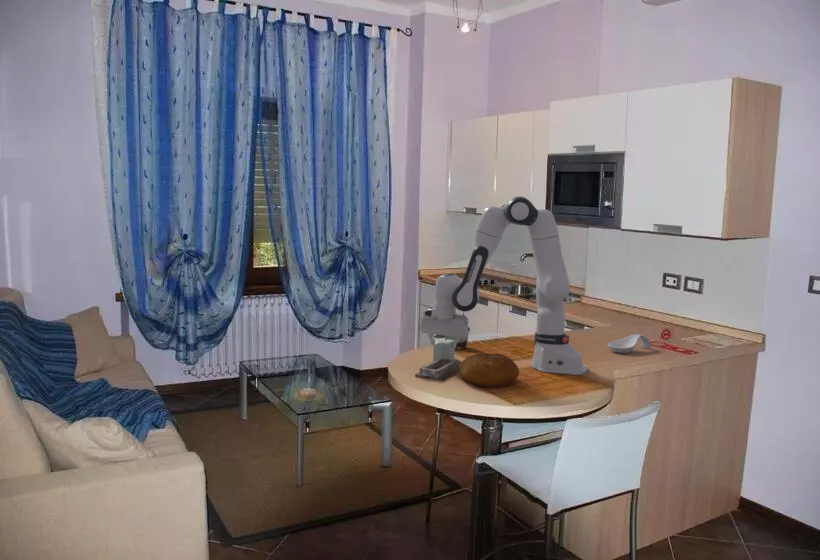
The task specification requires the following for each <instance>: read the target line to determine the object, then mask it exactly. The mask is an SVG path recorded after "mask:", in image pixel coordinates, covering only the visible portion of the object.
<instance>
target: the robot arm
mask: <svg viewBox="0 0 820 560" xmlns="http://www.w3.org/2000/svg"><path fill="white" fill-rule="evenodd" d="M511 224H512V225H519V226H526V227H527V229H528V231H529V232H528V233H529V238H530V243H531V250H532V255H533V261H534V263H535V268H536V271H537V277H536V280H535V291H536V293H535V294H536V296H535V298H536V299H535V300H536V330H535V332H534V341H533V342H534V351H533V357H532V359H531V362H530V367H531V368H533V369H536V370H538V371H539V372H541V373H551V374H561V375H562V374H563V375H564V374H565V375H573V376H574V375H575V376H580V375H584V374H586V373H587V372H588V371H589V370H588V369H589V367H588V366H587V365H583V359H582V358H583V357H582V354H581V353H580V352H579V351H578V350H577V349H575V347H574V346H572V345H571V344H570V343H569V342H570V334H566V333H565V323H566V312H565V301H564V300H565V299H566V298H567V297H568V296H569V294H570V292H571V284H570V280H569V276H568V275H569V274H568V272H567V268H566V264H565V261H564V257H563V253H562V247H561V246H562V245H561V240H560V234H559V229H558V226H557V222H556V219H555V216H554V214H553V212H552V211H550V210H549V209H545V208H544V209H543V208H541V209H537V207H536V206H534V205H533V203H532V202H531V201H530V200H529V199H528V198H527V197H525V196H521V195H518V196H517V195H516V196H513V197H511V198H510V199H509V200H507V202H505V203H504V204H503V205H502V206H500V207H498V206H494V205H493V206H492V205H491V206H488V207H486V208H485V209H484V210H483V212H482V213H481V216H480V217H479V220H478V222H477V224H476V227H475V230H474V233H473V236H472V241H471V248H470V257H469V262H468V265H467V268H466V270H465V274H464V276H463V278H461V277H459V276H458V275H457V274H456V273H452V272H451V273H444V274H441V275H439V276H438V277H437V278H436V282H435V289H434V296H435V302H434V306H433V307H431V308H427V309H425V310H423V311H422V318H421V320H420V329H419V331H420V332H421V333H423V334H428V335H427V337H428V338H429V340H430V345H432V346H434V345H436V339H434V337H433V336H434V335H436V336H437V335H438V336H444V337H445V336H450V337H454V340H455V342H454V343H452V346H451V347H452V348H455V349H457V348H456V343H457V342H458V341H459V338H465V337H467V336H468V337H469V334H468V326H469V318H468V317H467V316H466V315H465V314H457V313H456V312H457V310H459V311H460V312H470V311H472V310H474V309H475V308H476V306H477V304H478V302H479V299H480V295H481V293H480V289H479V287H478V286H479V283H480V280H481V279H482V275H483V272H484V270H485V268H486V266H487V264H488V263H489V261H490V260H491V258H492V257H493V256H494V255H495V253H496V252H497V250H498V248H499V246H500V244H501V242H502V241H501V240H502V239H503V236H504V232H505V230H506V228H507V227H508V226H509V225H511Z"/></svg>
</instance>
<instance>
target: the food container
mask: <svg viewBox="0 0 820 560" xmlns="http://www.w3.org/2000/svg"><path fill="white" fill-rule="evenodd" d="M470 332H471V328H470V326H469V325H468V336H467V337H465V338H459V341H458V342H457V343H456V347H460V348H459V349H462V348H466V349H467V347H468V339H469V333H470ZM444 339H445V340H447V339H450V340H454V337H450V336H444ZM445 340H444V341H445Z"/></svg>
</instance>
